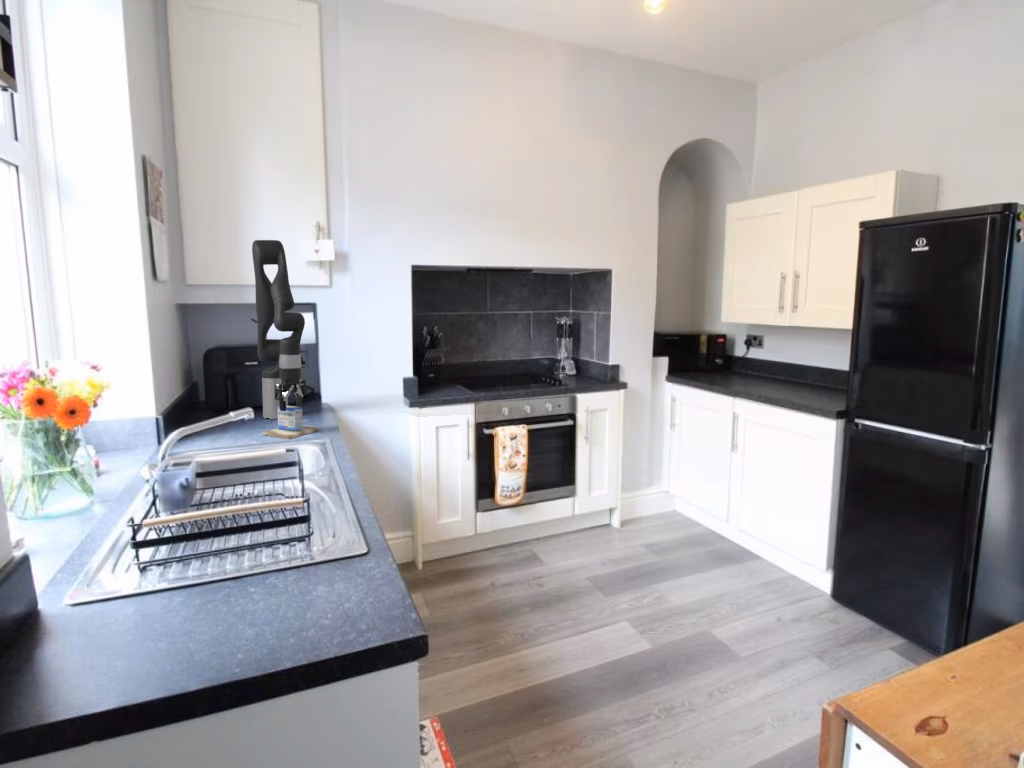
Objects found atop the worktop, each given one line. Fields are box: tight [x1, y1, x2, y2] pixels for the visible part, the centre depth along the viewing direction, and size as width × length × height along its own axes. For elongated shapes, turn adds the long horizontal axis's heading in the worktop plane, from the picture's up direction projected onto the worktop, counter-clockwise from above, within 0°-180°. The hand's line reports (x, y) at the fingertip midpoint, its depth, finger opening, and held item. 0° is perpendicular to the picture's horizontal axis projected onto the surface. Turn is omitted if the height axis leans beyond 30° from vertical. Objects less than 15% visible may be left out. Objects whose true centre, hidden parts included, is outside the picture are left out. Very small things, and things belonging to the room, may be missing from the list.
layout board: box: [261, 425, 319, 440], centre depth 209 cm, size 16×12×1 cm
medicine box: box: [277, 405, 303, 431], centre depth 209 cm, size 8×4×9 cm, turn 73°
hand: (291, 409), depth 209 cm, fingers open, 8 cm apart
